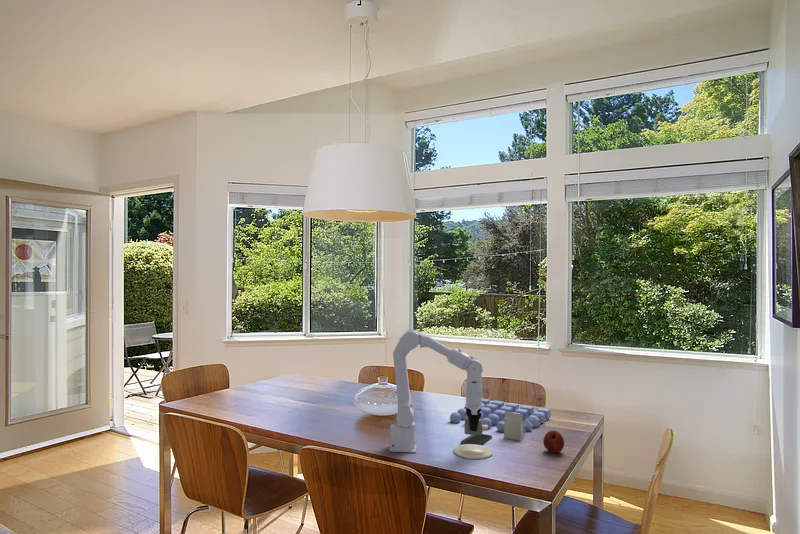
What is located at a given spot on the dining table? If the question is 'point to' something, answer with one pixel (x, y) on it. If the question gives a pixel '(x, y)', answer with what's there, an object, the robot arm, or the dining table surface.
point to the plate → (473, 451)
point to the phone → (477, 439)
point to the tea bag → (513, 426)
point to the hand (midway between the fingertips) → (473, 429)
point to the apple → (553, 441)
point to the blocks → (497, 412)
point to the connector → (479, 428)
